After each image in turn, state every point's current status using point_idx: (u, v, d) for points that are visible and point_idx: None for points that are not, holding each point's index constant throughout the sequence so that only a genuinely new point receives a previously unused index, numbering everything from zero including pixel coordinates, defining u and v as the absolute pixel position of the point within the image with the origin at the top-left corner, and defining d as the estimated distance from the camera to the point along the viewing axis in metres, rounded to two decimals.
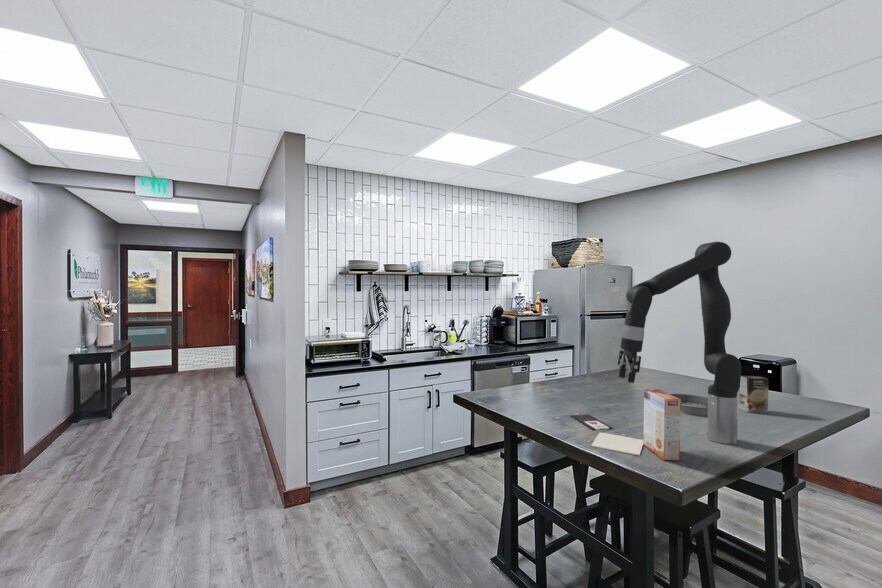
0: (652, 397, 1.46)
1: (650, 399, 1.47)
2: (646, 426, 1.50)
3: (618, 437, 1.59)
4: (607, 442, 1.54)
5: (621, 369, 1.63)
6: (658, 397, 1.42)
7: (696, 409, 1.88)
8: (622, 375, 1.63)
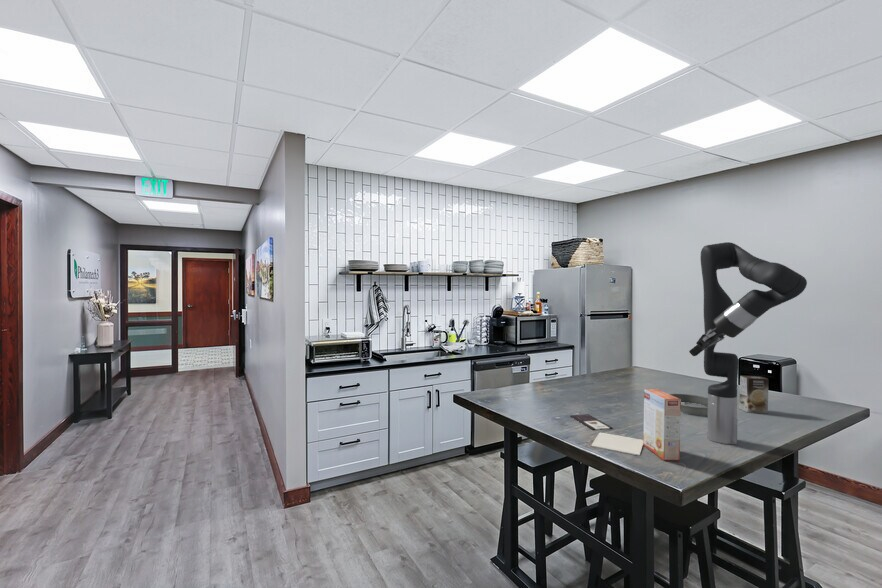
0: (652, 397, 1.46)
1: (650, 399, 1.47)
2: (646, 426, 1.50)
3: (618, 437, 1.59)
4: (607, 442, 1.54)
5: None
6: (658, 397, 1.42)
7: (696, 409, 1.88)
8: None
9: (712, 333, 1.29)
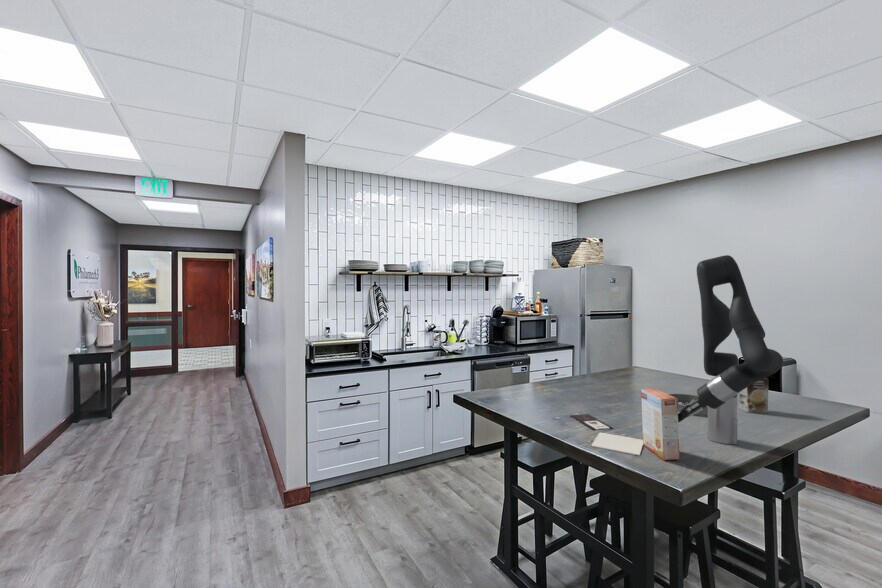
0: (649, 397, 1.46)
1: (647, 399, 1.47)
2: (645, 426, 1.50)
3: (618, 437, 1.59)
4: (607, 442, 1.54)
5: None
6: (655, 397, 1.42)
7: None
8: None
9: (695, 404, 1.33)
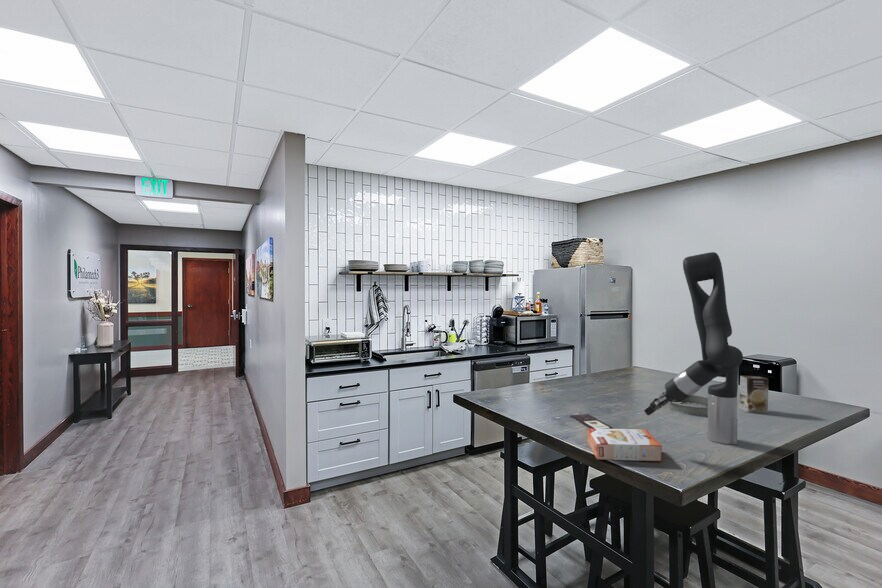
0: None
1: None
2: None
3: None
4: None
5: None
6: None
7: (696, 409, 1.88)
8: None
9: (663, 397, 1.41)
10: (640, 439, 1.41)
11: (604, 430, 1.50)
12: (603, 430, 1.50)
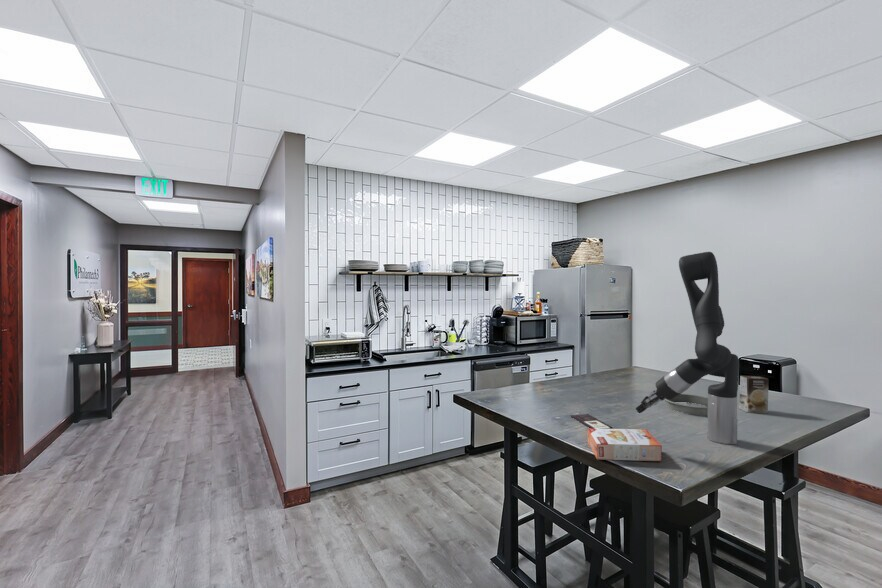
0: None
1: None
2: None
3: None
4: None
5: None
6: None
7: (696, 409, 1.88)
8: None
9: (654, 395, 1.43)
10: (640, 439, 1.41)
11: (604, 430, 1.50)
12: (603, 430, 1.50)
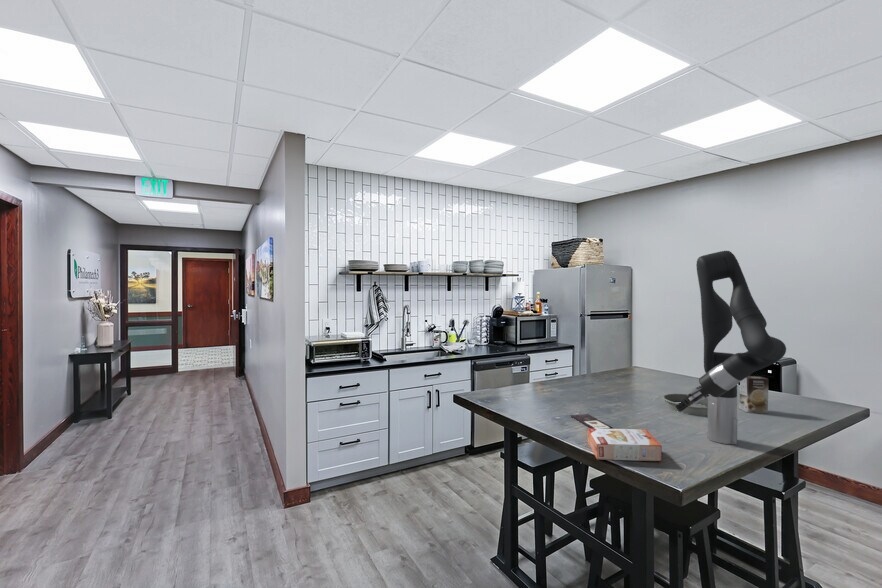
0: None
1: None
2: None
3: None
4: None
5: None
6: None
7: (696, 409, 1.88)
8: None
9: (698, 393, 1.33)
10: (640, 439, 1.41)
11: (604, 430, 1.50)
12: (603, 430, 1.50)
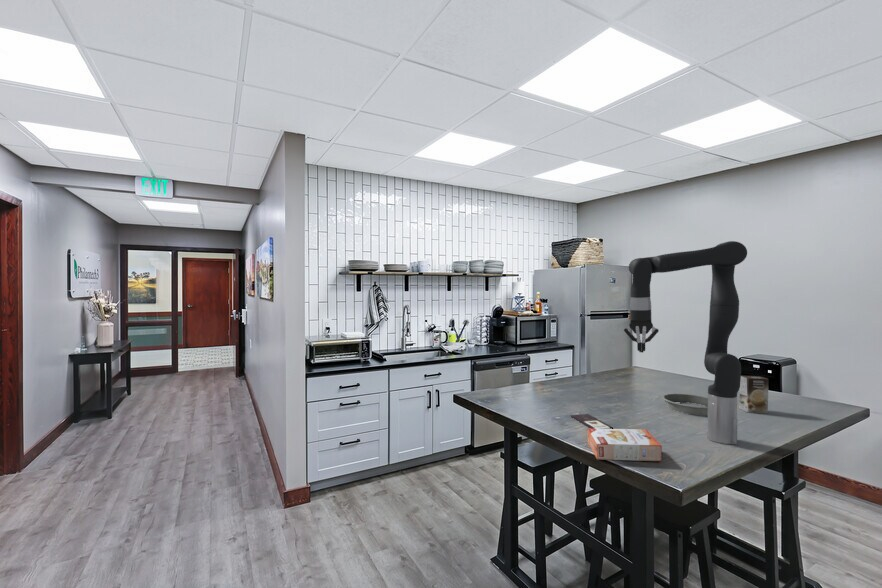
0: None
1: None
2: None
3: None
4: None
5: None
6: None
7: (696, 409, 1.88)
8: None
9: None
10: (640, 439, 1.41)
11: (604, 430, 1.50)
12: (603, 430, 1.50)
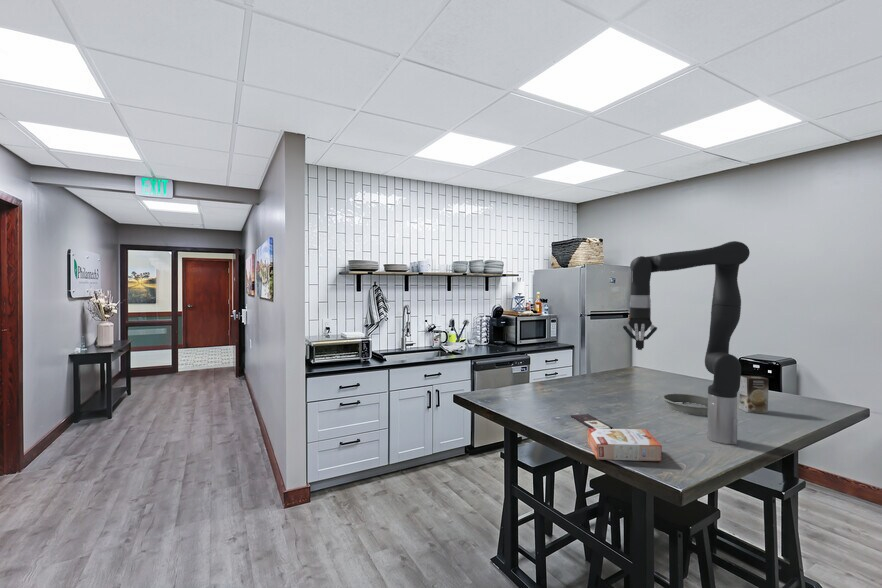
0: None
1: None
2: None
3: None
4: None
5: None
6: None
7: (696, 409, 1.88)
8: None
9: None
10: (640, 439, 1.41)
11: (604, 430, 1.50)
12: (603, 430, 1.50)
